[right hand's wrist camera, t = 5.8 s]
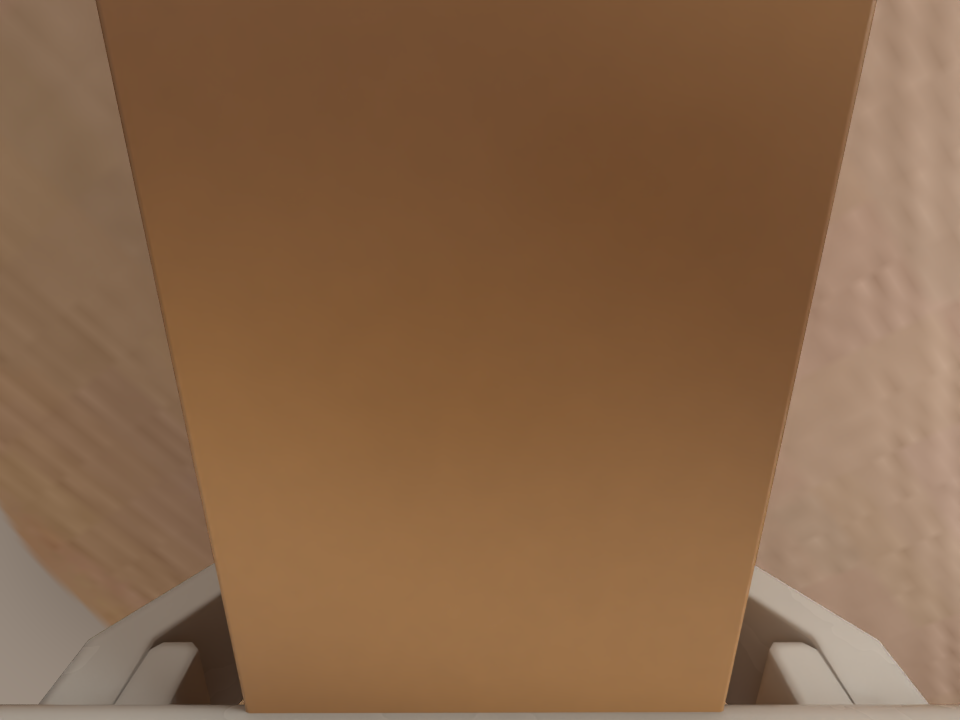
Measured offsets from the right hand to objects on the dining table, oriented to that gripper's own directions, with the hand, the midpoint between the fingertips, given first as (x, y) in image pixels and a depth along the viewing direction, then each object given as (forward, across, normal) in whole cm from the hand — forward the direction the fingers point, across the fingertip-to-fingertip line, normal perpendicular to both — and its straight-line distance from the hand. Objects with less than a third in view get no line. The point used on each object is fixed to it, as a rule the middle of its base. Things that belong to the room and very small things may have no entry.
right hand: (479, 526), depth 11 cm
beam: (+3, 0, -32) cm, 32 cm away
